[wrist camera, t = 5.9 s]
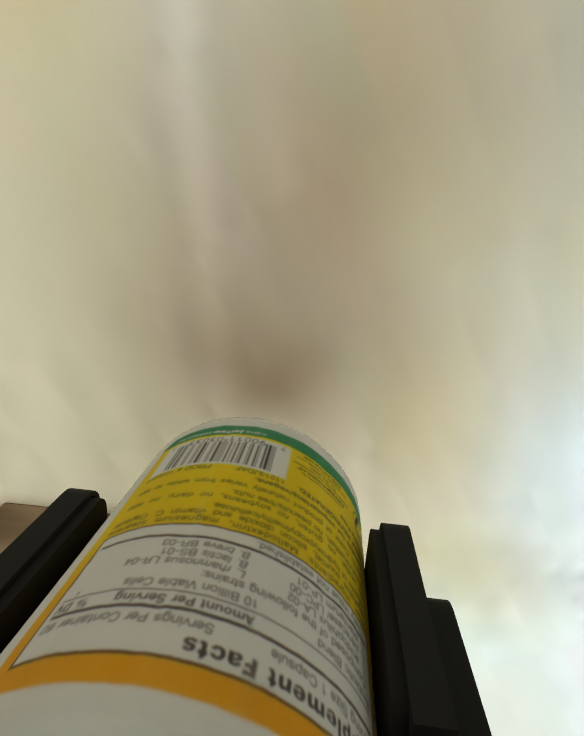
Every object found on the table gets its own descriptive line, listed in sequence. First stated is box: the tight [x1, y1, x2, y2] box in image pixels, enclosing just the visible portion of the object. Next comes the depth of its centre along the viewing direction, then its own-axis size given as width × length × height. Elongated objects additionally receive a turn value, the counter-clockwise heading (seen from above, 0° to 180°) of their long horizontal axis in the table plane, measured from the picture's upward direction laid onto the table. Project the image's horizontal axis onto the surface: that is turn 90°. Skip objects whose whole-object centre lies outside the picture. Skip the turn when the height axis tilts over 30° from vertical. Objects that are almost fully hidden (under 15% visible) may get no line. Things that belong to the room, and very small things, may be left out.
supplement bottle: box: [0, 417, 378, 736], centre depth 7 cm, size 6×6×10 cm
